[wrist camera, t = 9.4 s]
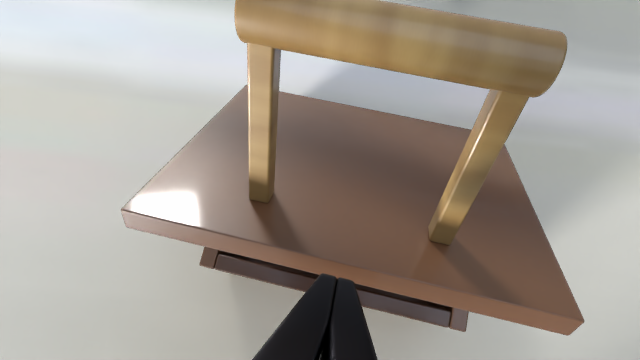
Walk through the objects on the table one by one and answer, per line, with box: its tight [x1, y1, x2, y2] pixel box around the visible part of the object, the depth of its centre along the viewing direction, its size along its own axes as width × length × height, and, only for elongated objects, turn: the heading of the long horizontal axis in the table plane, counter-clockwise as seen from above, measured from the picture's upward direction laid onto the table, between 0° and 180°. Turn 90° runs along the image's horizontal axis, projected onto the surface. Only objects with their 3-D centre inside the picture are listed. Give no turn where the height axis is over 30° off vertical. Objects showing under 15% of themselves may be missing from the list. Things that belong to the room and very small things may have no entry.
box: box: [200, 247, 469, 332], centre depth 20 cm, size 10×14×5 cm
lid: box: [121, 0, 584, 335], centre depth 12 cm, size 10×14×7 cm
